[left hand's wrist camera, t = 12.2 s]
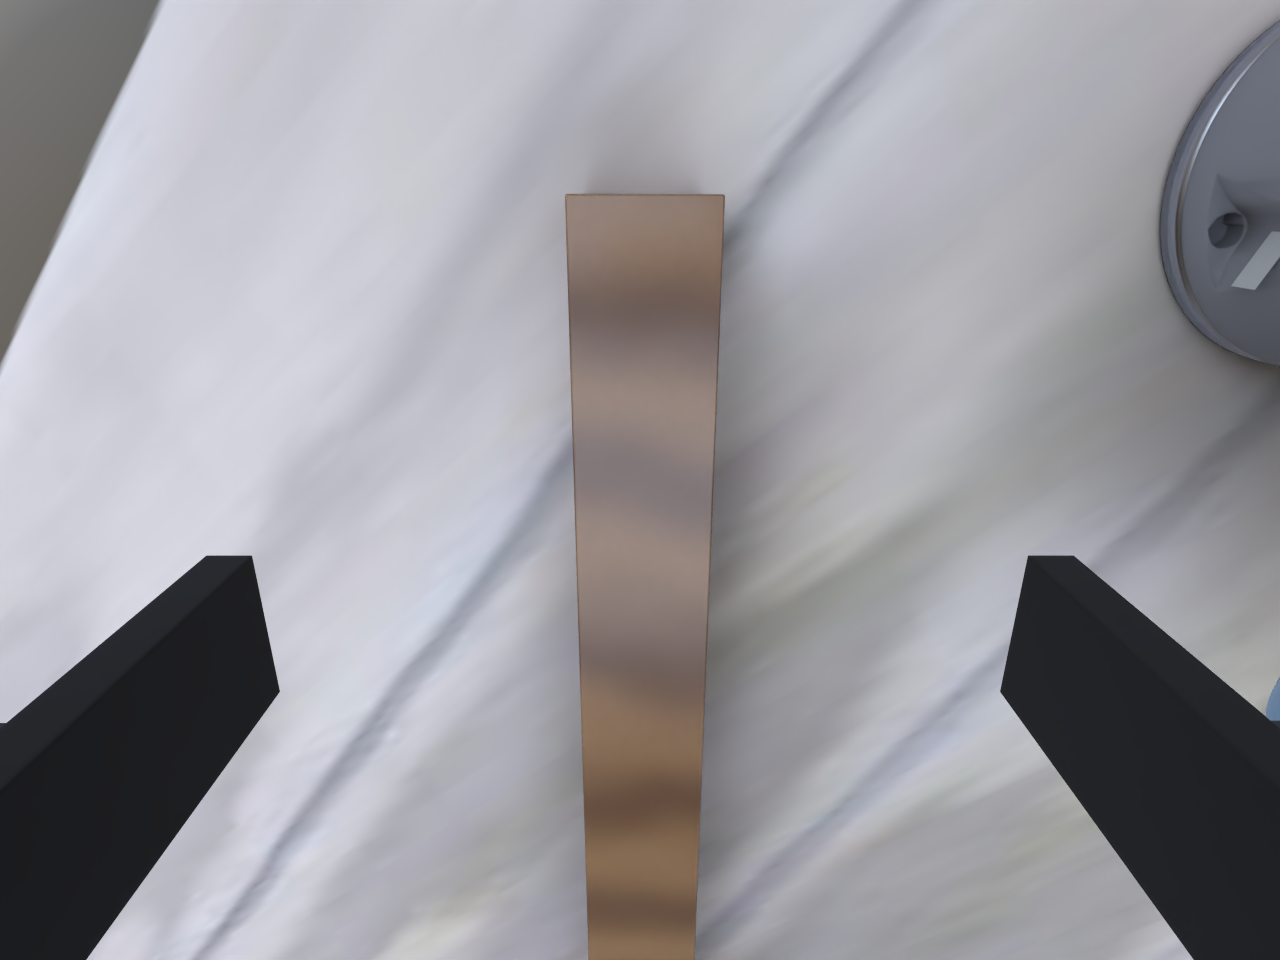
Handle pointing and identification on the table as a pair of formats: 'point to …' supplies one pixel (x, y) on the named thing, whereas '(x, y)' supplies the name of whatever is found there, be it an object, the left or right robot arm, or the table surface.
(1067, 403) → the table surface
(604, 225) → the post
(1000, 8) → the table surface
